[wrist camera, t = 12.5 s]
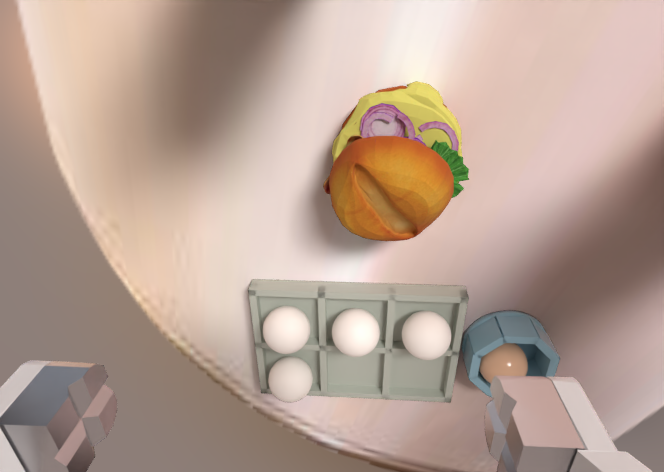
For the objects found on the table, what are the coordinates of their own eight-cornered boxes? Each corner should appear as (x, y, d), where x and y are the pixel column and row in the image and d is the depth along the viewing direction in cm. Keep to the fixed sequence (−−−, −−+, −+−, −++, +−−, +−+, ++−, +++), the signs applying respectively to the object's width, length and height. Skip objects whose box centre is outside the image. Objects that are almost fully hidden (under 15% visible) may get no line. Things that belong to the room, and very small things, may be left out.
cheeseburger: (489, 106, 34) (507, 179, 27) (421, 202, 41) (421, 281, 34) (370, 51, 33) (356, 112, 25) (321, 161, 40) (298, 234, 32)
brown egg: (534, 337, 43) (530, 369, 39) (525, 371, 45) (519, 405, 41) (485, 323, 44) (477, 353, 41) (479, 357, 47) (470, 388, 43)
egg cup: (554, 311, 43) (569, 337, 40) (536, 374, 47) (548, 401, 44) (467, 308, 44) (475, 333, 40) (456, 370, 48) (463, 397, 45)
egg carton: (465, 286, 42) (476, 321, 38) (447, 389, 49) (456, 430, 45) (252, 279, 44) (238, 312, 39) (264, 380, 51) (254, 419, 46)
